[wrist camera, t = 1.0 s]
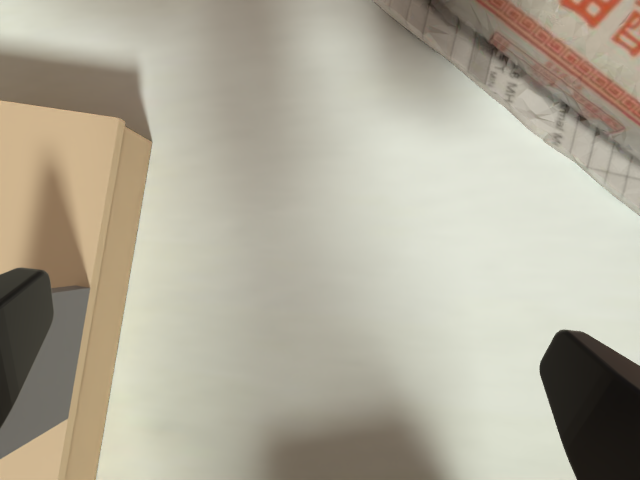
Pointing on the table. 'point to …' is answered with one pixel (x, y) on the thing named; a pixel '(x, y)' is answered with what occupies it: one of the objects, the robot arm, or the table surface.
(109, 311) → the cardboard box
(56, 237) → the lid
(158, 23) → the table surface
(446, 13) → the packaged product
